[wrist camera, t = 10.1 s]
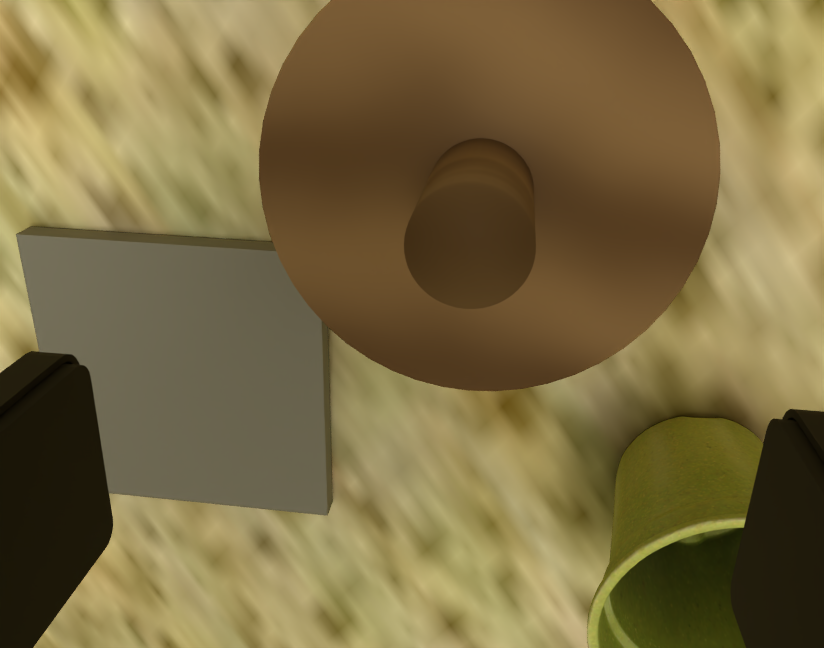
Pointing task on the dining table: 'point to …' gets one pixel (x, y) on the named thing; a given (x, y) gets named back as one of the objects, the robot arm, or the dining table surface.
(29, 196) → the dining table surface
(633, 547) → the plant pot
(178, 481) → the mat
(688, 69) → the lid
